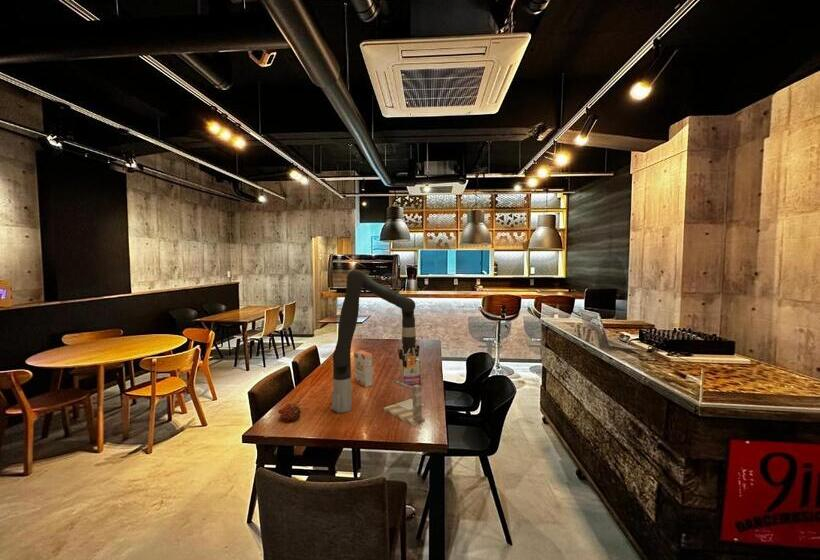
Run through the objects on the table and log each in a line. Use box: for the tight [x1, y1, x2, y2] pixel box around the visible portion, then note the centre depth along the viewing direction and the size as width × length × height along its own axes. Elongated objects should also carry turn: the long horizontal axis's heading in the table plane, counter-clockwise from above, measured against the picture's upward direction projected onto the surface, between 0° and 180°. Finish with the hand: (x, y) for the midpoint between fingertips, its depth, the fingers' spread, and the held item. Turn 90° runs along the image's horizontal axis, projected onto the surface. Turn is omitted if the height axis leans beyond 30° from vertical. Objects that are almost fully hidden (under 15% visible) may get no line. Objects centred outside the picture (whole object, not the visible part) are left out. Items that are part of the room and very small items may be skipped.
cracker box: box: [353, 349, 374, 388], centre depth 222 cm, size 14×6×21 cm, turn 37°
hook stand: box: [383, 379, 426, 427], centre depth 174 cm, size 24×7×18 cm, turn 41°
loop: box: [404, 354, 415, 369], centre depth 187 cm, size 6×2×6 cm, turn 131°
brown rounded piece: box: [277, 403, 302, 422], centre depth 172 cm, size 8×8×12 cm
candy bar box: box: [401, 357, 422, 387], centre depth 220 cm, size 11×5×16 cm, turn 101°
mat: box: [395, 398, 425, 412], centre depth 188 cm, size 11×11×1 cm
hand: (409, 365), depth 187 cm, fingers closed on loop, 5 cm apart
